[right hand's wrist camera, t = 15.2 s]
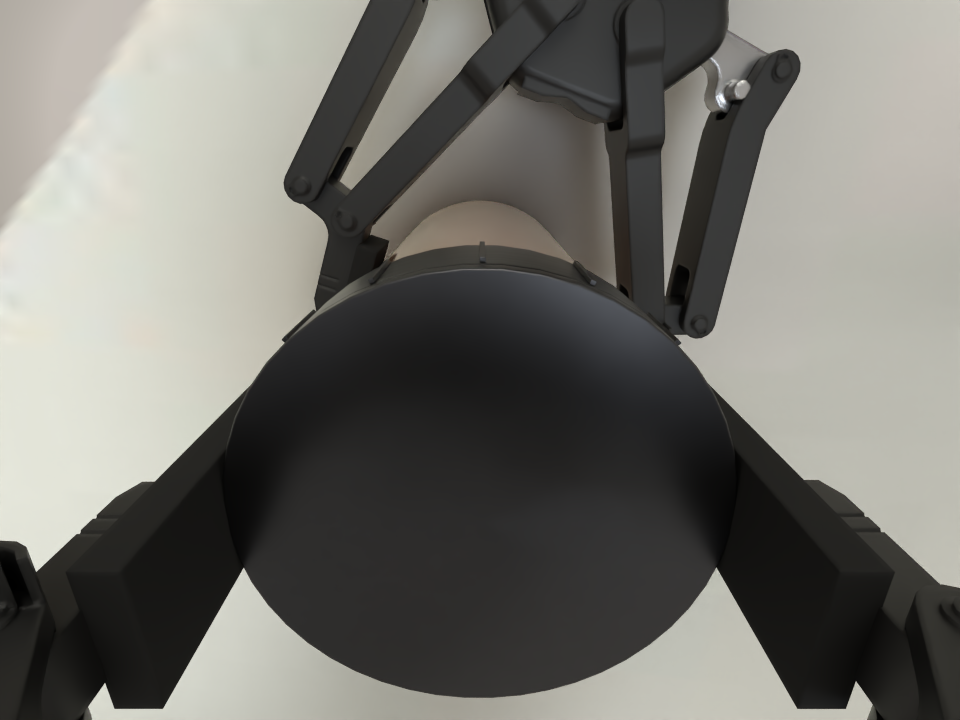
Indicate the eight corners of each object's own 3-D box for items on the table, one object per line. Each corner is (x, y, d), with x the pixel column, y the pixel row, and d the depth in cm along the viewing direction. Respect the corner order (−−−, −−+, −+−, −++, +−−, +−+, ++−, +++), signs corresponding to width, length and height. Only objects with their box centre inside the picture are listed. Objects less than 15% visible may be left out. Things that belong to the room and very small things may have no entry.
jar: (387, 365, 29) (261, 652, 12) (395, 190, 26) (239, 256, 9) (553, 381, 29) (651, 682, 13) (582, 211, 26) (767, 312, 9)
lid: (337, 636, 15) (312, 723, 12) (204, 292, 11) (134, 327, 9) (698, 584, 14) (740, 666, 12) (678, 200, 11) (734, 214, 8)
